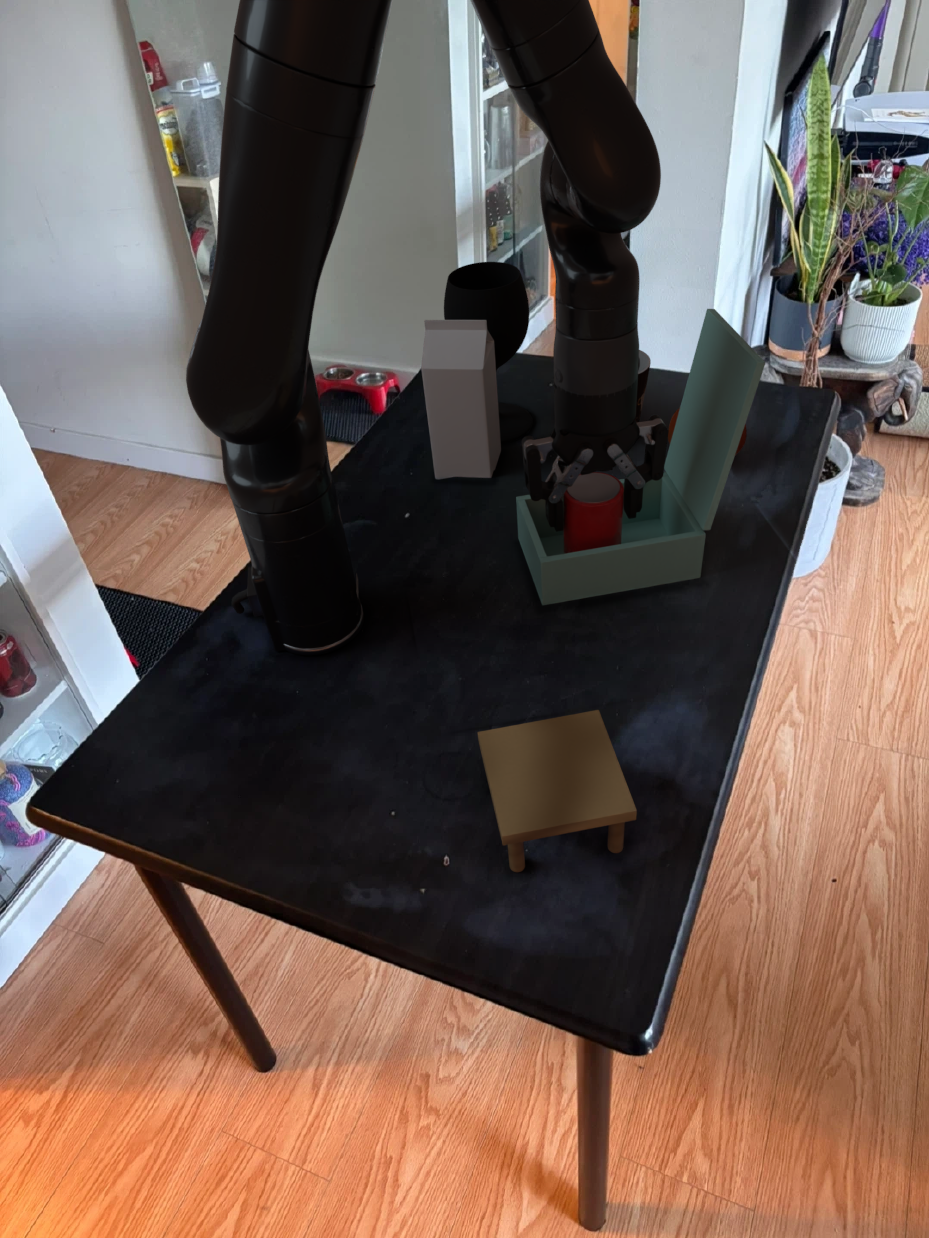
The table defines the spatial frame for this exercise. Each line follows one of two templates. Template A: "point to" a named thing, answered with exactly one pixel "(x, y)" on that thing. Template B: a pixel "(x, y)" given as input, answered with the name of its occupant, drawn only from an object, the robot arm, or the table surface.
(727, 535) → the table surface
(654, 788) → the table surface
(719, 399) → the lid
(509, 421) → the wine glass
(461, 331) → the milk carton
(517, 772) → the stool
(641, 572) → the box
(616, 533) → the can
